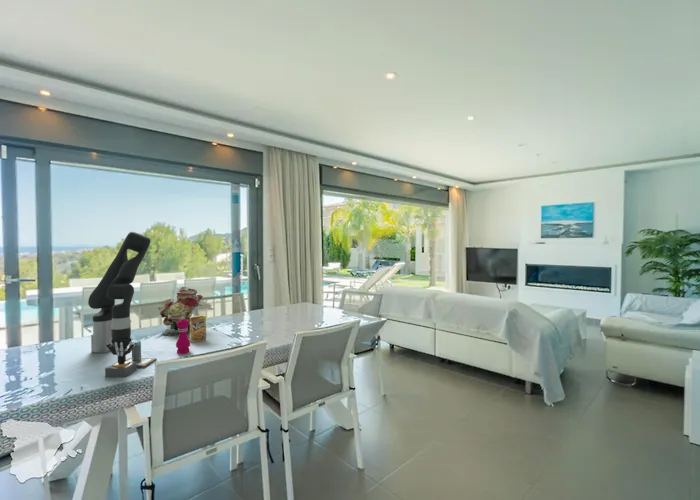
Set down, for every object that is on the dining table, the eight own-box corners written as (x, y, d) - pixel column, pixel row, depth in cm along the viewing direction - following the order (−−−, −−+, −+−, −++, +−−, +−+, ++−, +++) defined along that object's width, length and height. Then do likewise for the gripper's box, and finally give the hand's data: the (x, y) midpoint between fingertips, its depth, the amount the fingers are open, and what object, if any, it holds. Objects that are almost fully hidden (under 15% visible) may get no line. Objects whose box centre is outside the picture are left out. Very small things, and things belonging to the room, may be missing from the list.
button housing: (105, 377, 159) (105, 368, 159) (117, 369, 168) (117, 361, 168) (125, 377, 159) (125, 368, 159) (136, 369, 168) (136, 361, 168)
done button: (112, 373, 161) (112, 365, 161) (119, 369, 166) (119, 361, 166) (123, 373, 161) (123, 365, 161) (130, 369, 166) (130, 361, 166)
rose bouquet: (161, 328, 244) (160, 285, 243) (206, 325, 254) (206, 283, 252) (153, 338, 220) (152, 290, 219) (203, 334, 229) (203, 289, 228)
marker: (130, 363, 174) (129, 343, 173) (134, 360, 178) (134, 340, 177) (138, 363, 174) (138, 343, 173) (143, 360, 178) (142, 340, 177)
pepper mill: (176, 355, 189) (175, 318, 188) (175, 351, 196) (175, 315, 195) (190, 353, 192) (190, 317, 192) (189, 349, 199) (189, 314, 198)
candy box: (190, 342, 212) (190, 317, 211) (189, 340, 215) (189, 316, 215) (206, 340, 217) (206, 315, 216) (204, 338, 220) (204, 314, 220)
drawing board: (115, 367, 170) (115, 365, 170) (129, 360, 181) (129, 357, 181) (144, 368, 170) (144, 365, 170) (156, 360, 181) (156, 358, 181)
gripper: (140, 324, 167) (140, 360, 168) (112, 324, 167) (112, 360, 167) (130, 328, 159) (131, 366, 160) (101, 328, 159) (101, 366, 160)
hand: (121, 363), depth 164 cm, fingers closed
